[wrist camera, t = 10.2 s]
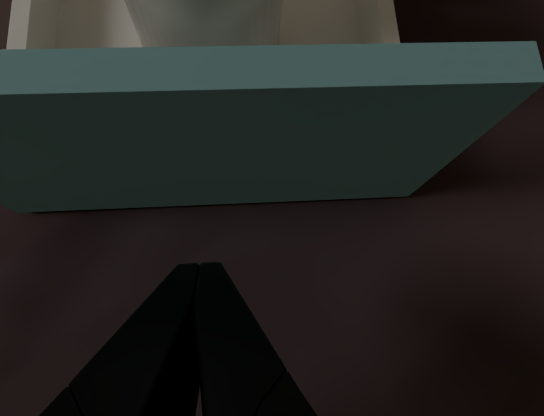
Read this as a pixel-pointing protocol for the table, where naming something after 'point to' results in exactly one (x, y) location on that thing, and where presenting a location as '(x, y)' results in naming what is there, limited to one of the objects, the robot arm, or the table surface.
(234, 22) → the salt jar
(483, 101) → the white and teal drawer
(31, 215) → the table surface
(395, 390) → the table surface
